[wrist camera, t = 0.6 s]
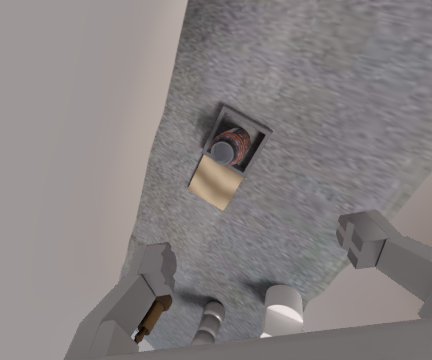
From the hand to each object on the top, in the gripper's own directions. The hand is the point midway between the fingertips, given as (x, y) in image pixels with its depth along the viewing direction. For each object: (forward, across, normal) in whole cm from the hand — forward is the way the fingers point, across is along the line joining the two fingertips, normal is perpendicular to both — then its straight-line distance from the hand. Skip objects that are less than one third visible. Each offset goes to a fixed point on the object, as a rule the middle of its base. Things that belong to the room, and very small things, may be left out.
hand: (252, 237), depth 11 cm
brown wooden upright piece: (+32, +29, +60) cm, 74 cm away
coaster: (+35, +4, +20) cm, 40 cm away
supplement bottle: (+35, -2, +11) cm, 37 cm away
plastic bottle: (+26, +11, +59) cm, 65 cm away
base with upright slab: (+22, -8, +51) cm, 56 cm away
